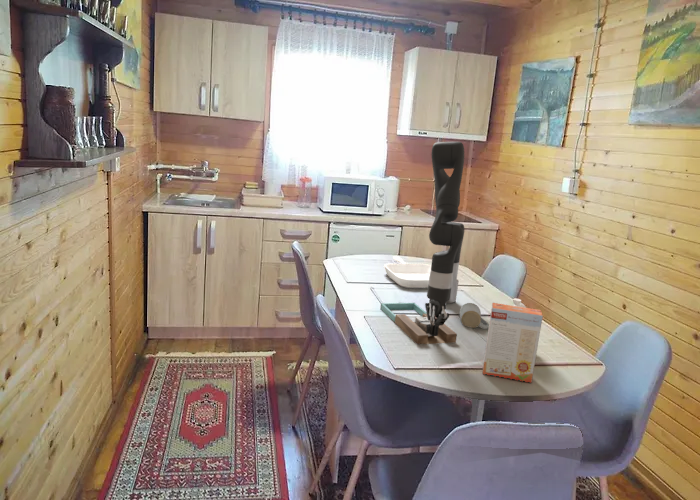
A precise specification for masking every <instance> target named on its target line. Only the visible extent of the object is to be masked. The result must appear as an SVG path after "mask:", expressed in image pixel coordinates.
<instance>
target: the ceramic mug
mask: <svg viewBox="0 0 700 500" xmlns="http://www.w3.org/2000/svg"><path fill="white" fill-rule="evenodd" d="M481 313H482V311H481V309H480V307H479V306H478V305H477V304H476V303H472V302H467V303H464V304H462V305H461V307H460V309H459V317H460V322H461V323H462V325H463V326H464V327H467V328H468V327H469V328H471V329H476V328H478V327H480V328H481V329H483V330H487V329H489V323H488V322H487V321H486V320H485V319H484V318H483V317H482V314H481Z"/></svg>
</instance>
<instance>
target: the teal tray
mask: <svg viewBox="0 0 700 500" xmlns="http://www.w3.org/2000/svg"><path fill="white" fill-rule="evenodd" d="M379 308H380V311H382V312H383V313H384V314H385V315H386V316H387V317H388V318H390V319H391V320H392V322H394V323H395V317H396V314H395V313H394V312H393V311H394V310H395V311H399V310H400V311H415V312H416V313H418V314H419V315H420V317H422V315H423V314H427V312H426V310H424V309H423V308H422V307H420V306H419V304H417V303H416V302H386V303H385V302H382V303H380V307H379ZM391 310H393V311H391Z"/></svg>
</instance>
